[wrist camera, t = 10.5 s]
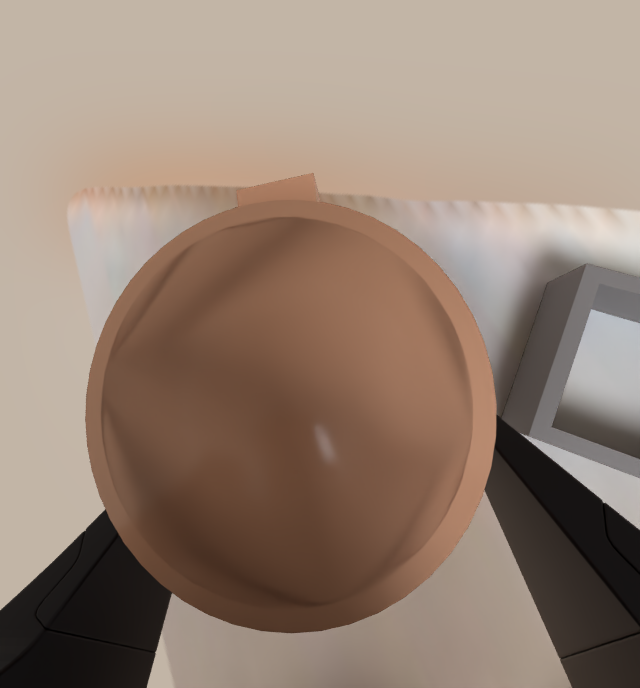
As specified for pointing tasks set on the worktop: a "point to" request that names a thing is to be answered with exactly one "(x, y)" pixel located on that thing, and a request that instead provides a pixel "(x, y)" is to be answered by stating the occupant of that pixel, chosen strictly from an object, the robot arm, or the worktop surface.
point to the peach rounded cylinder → (290, 413)
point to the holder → (568, 357)
